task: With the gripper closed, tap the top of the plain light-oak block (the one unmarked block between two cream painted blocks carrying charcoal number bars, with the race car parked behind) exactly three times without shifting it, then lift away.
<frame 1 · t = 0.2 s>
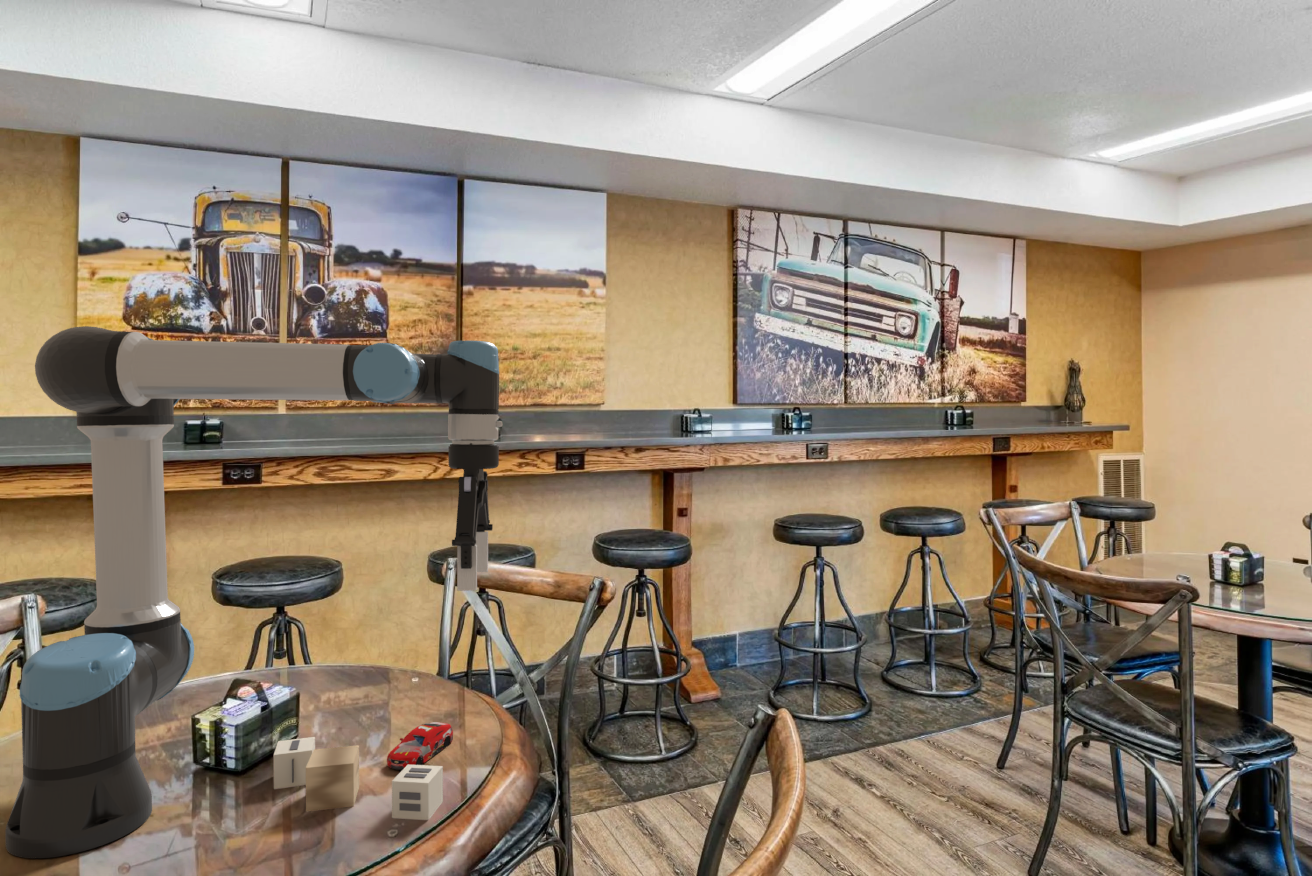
hand: (473, 580, 120), 28 cm above the table, fingers open, 13 cm apart
race car: (421, 756, 122), on the table
plain block: (333, 799, 108), on the table
marked block a: (295, 779, 114), on the table
marked block b: (418, 810, 105), on the table
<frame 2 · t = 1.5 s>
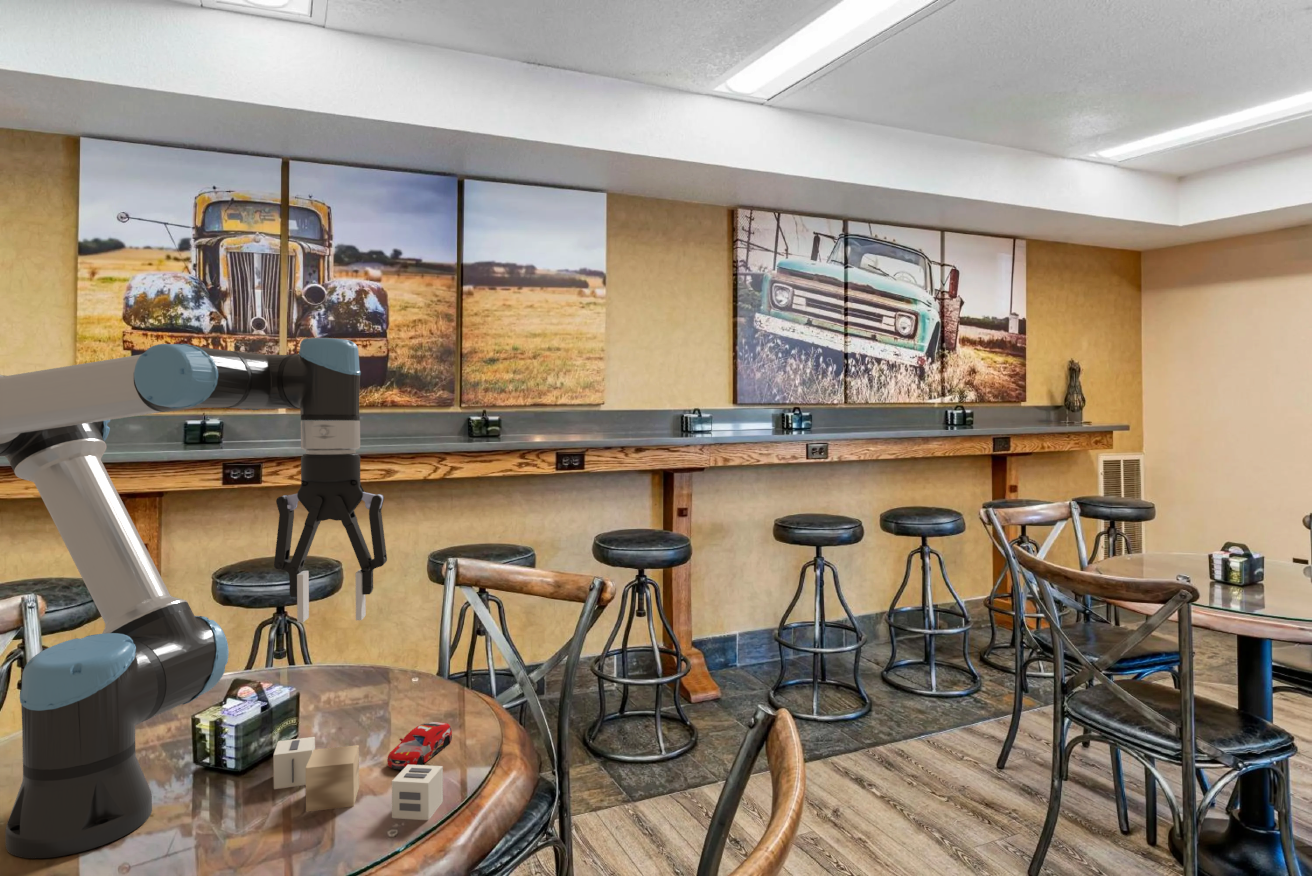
hand: (332, 618, 107), 25 cm above the table, fingers open, 7 cm apart
nothing on the table moved.
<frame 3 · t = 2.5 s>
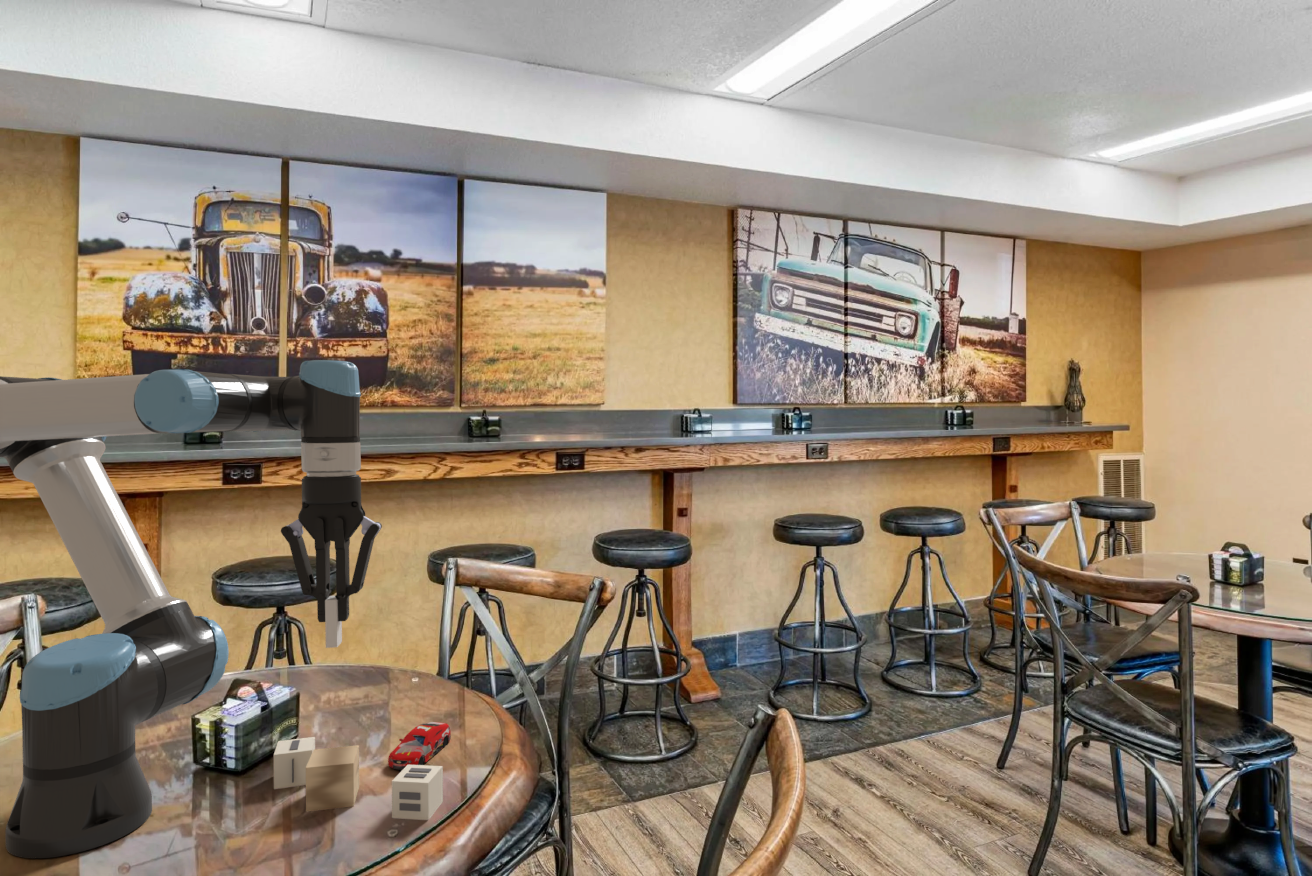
hand: (333, 644, 107), 21 cm above the table, fingers closed
nothing on the table moved.
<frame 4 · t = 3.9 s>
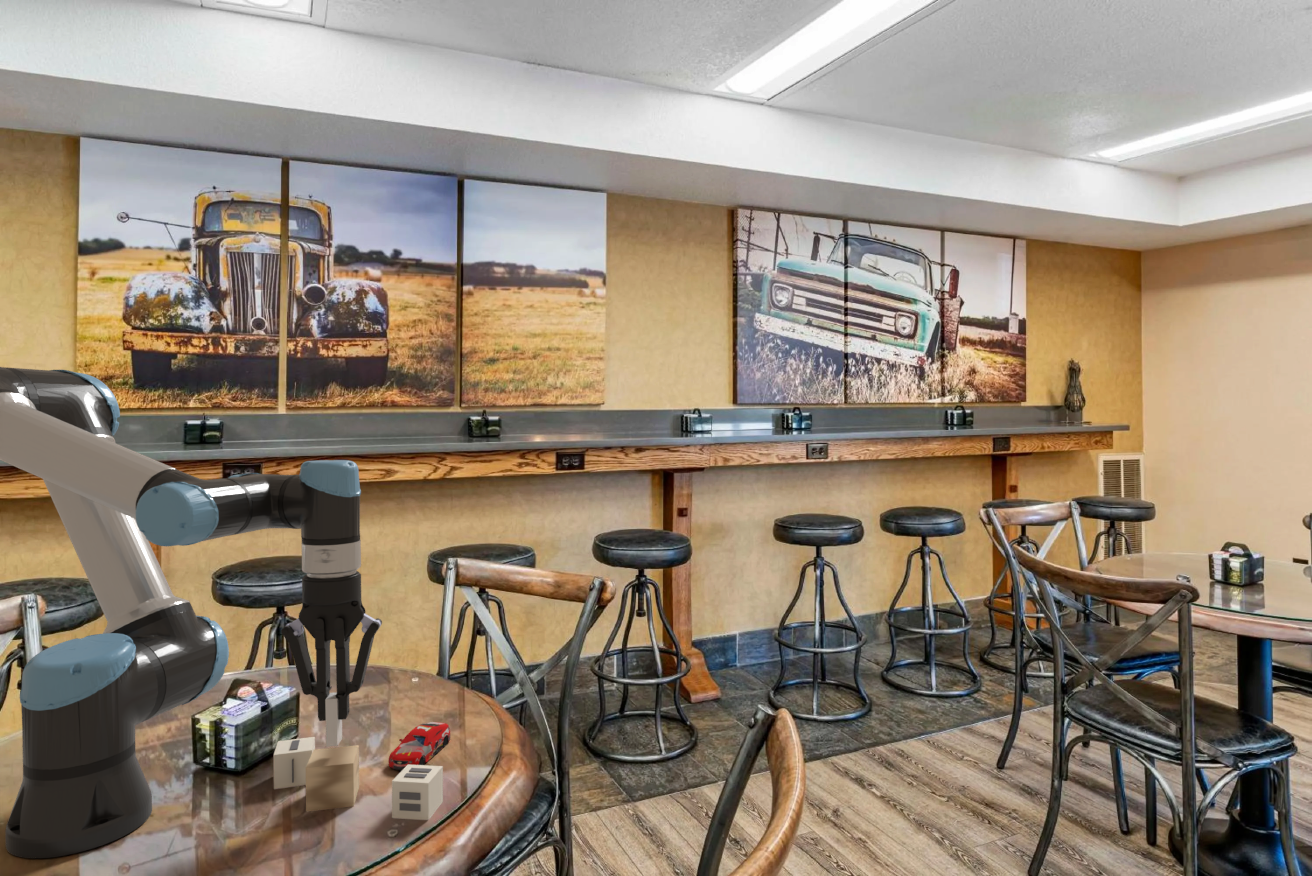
hand: (334, 742, 108), 8 cm above the table, fingers closed
nothing on the table moved.
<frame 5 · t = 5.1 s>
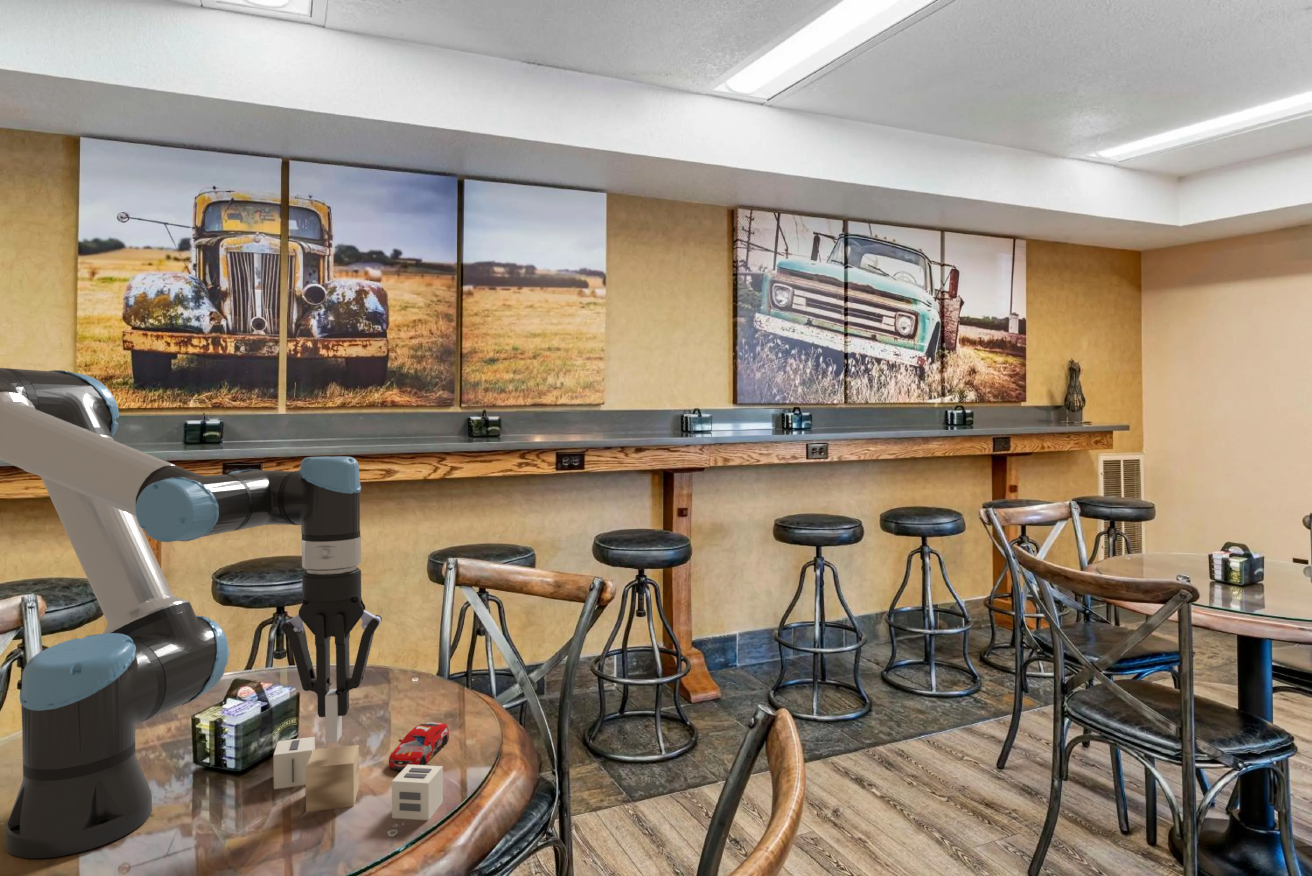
hand: (333, 738, 108), 8 cm above the table, fingers closed
nothing on the table moved.
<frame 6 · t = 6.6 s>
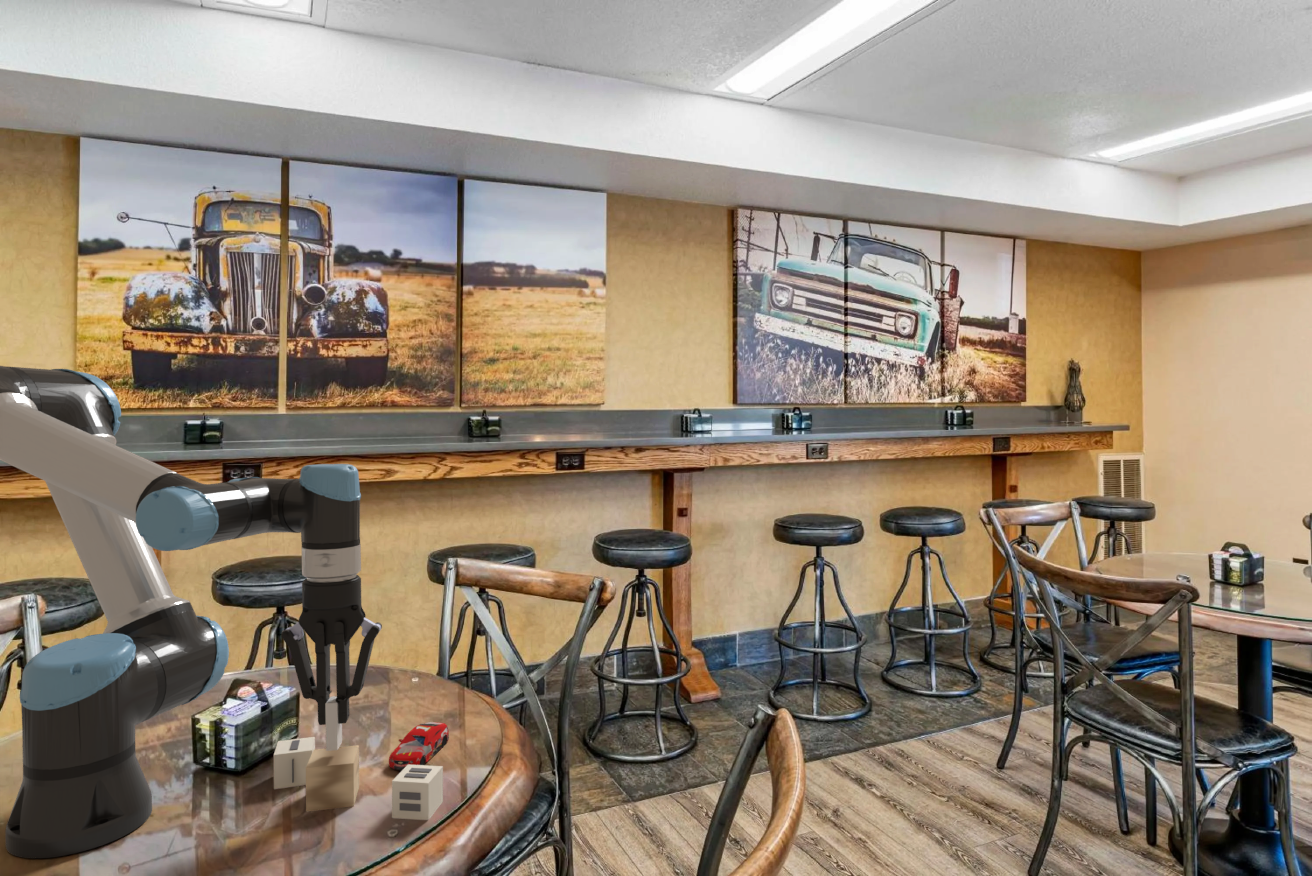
hand: (334, 746, 108), 7 cm above the table, fingers closed
nothing on the table moved.
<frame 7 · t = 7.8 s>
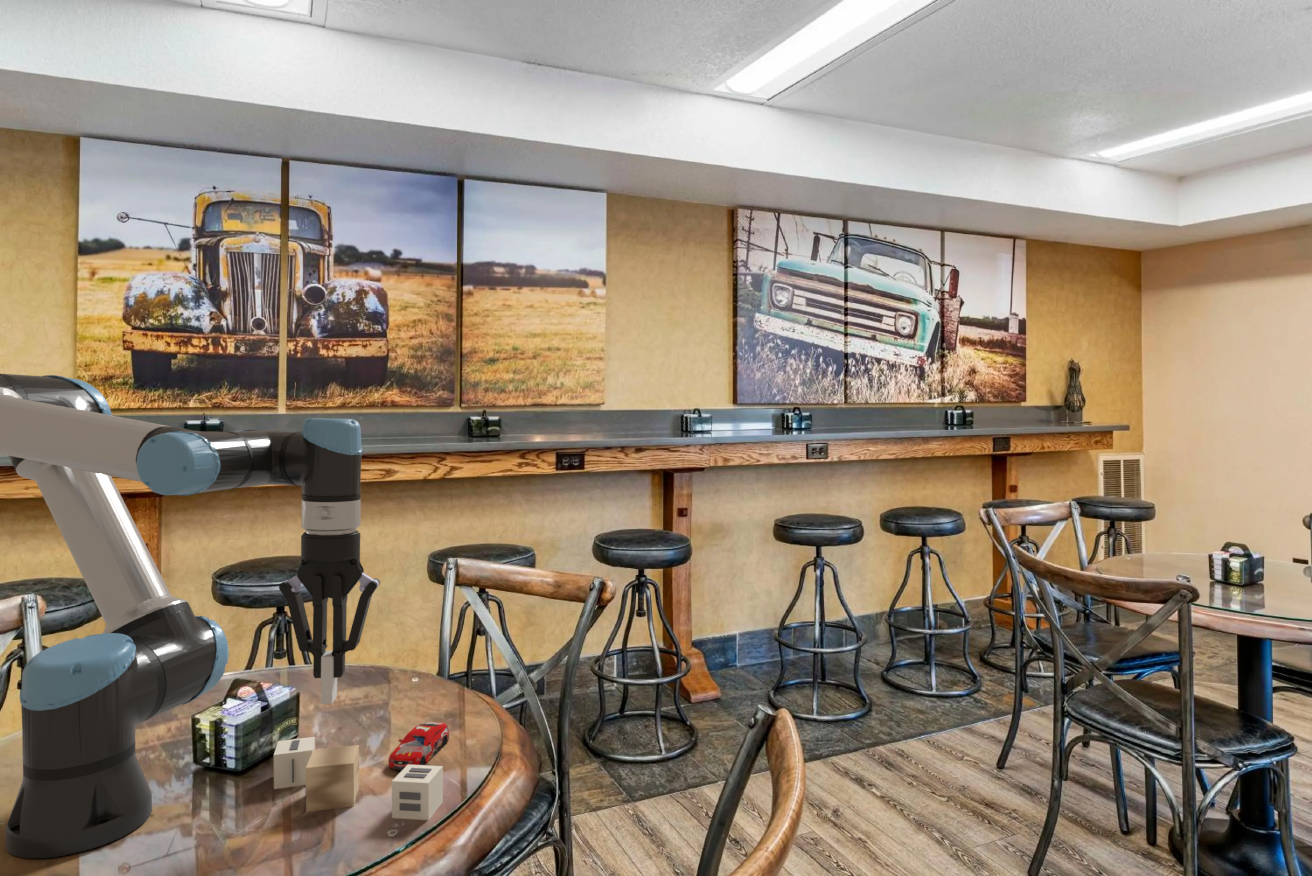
hand: (328, 700, 108), 14 cm above the table, fingers closed
nothing on the table moved.
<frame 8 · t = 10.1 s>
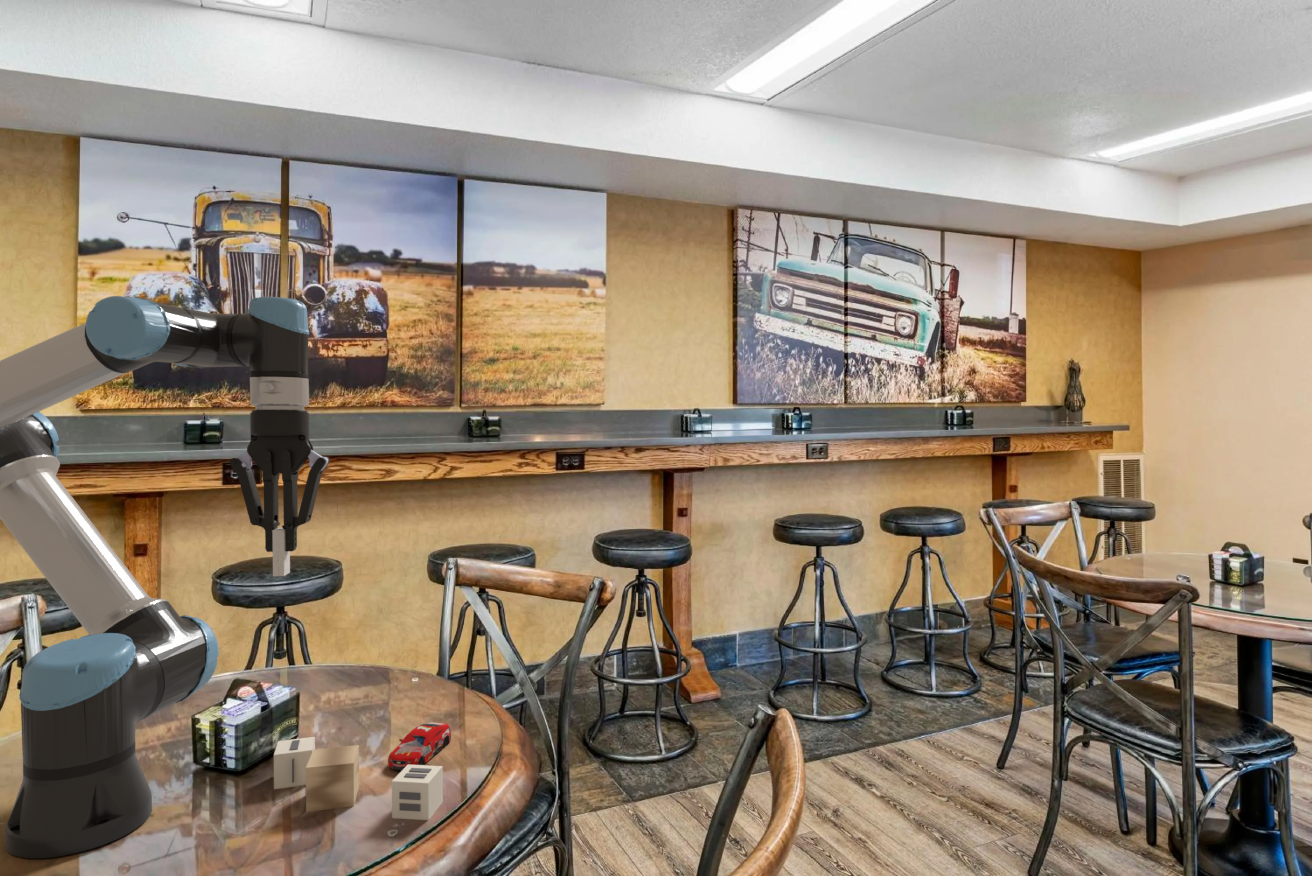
hand: (281, 574, 111), 30 cm above the table, fingers closed
nothing on the table moved.
at the end: plain block moved 0.1 cm from its start; plain block tilted 0°; marked block a moved 0.1 cm from its start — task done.
